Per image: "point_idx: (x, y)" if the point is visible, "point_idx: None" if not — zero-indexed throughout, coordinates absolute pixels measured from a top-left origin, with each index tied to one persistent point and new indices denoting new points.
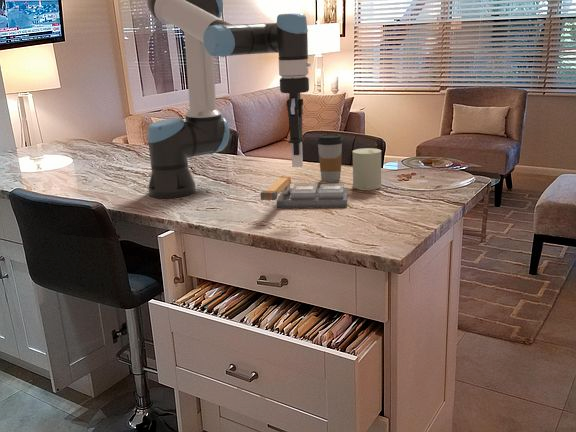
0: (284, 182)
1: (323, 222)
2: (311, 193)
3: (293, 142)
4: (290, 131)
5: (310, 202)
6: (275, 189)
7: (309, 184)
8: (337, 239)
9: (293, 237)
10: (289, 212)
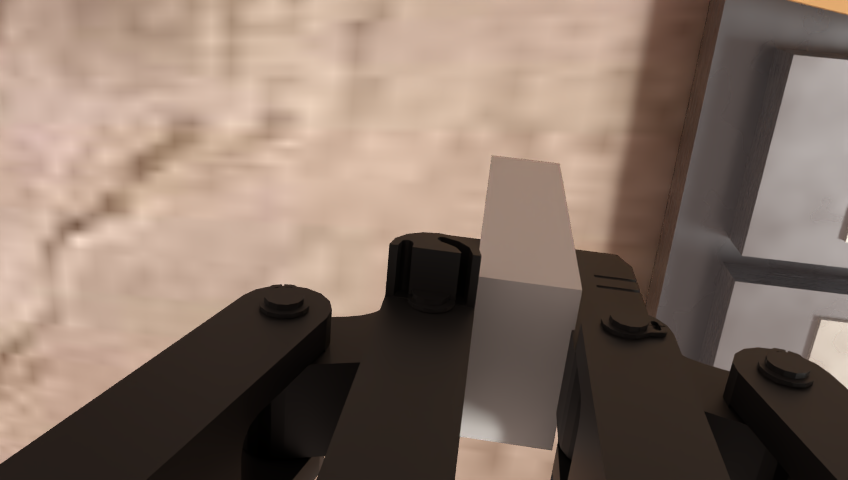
0: (819, 6)
1: (321, 245)
2: (746, 224)
3: (352, 324)
4: (103, 411)
5: (679, 194)
6: None
7: None
8: (37, 293)
9: (47, 62)
10: (575, 26)
